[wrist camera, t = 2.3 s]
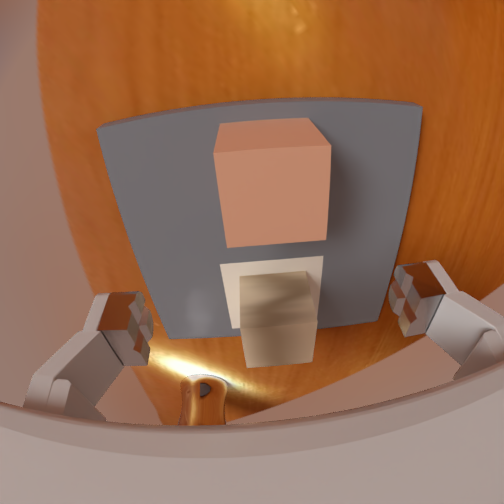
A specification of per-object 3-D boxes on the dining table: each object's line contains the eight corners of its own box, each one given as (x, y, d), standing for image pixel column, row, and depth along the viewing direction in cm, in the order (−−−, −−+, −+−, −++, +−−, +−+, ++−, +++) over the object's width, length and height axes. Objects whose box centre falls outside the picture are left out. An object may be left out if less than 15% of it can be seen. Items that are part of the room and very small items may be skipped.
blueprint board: (413, 102, 17) (422, 107, 16) (373, 311, 29) (377, 321, 28) (103, 123, 17) (96, 129, 16) (171, 329, 29) (169, 339, 28)
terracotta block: (308, 117, 16) (331, 145, 13) (308, 193, 20) (326, 239, 16) (219, 123, 17) (213, 153, 13) (229, 199, 20) (226, 247, 16)
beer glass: (190, 398, 39) (185, 499, 28) (167, 375, 35) (155, 491, 23) (238, 393, 38) (241, 500, 27) (221, 369, 34) (220, 494, 22)
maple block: (305, 270, 24) (317, 321, 20) (303, 313, 27) (312, 361, 23) (239, 276, 24) (240, 328, 20) (245, 318, 27) (246, 367, 23)
